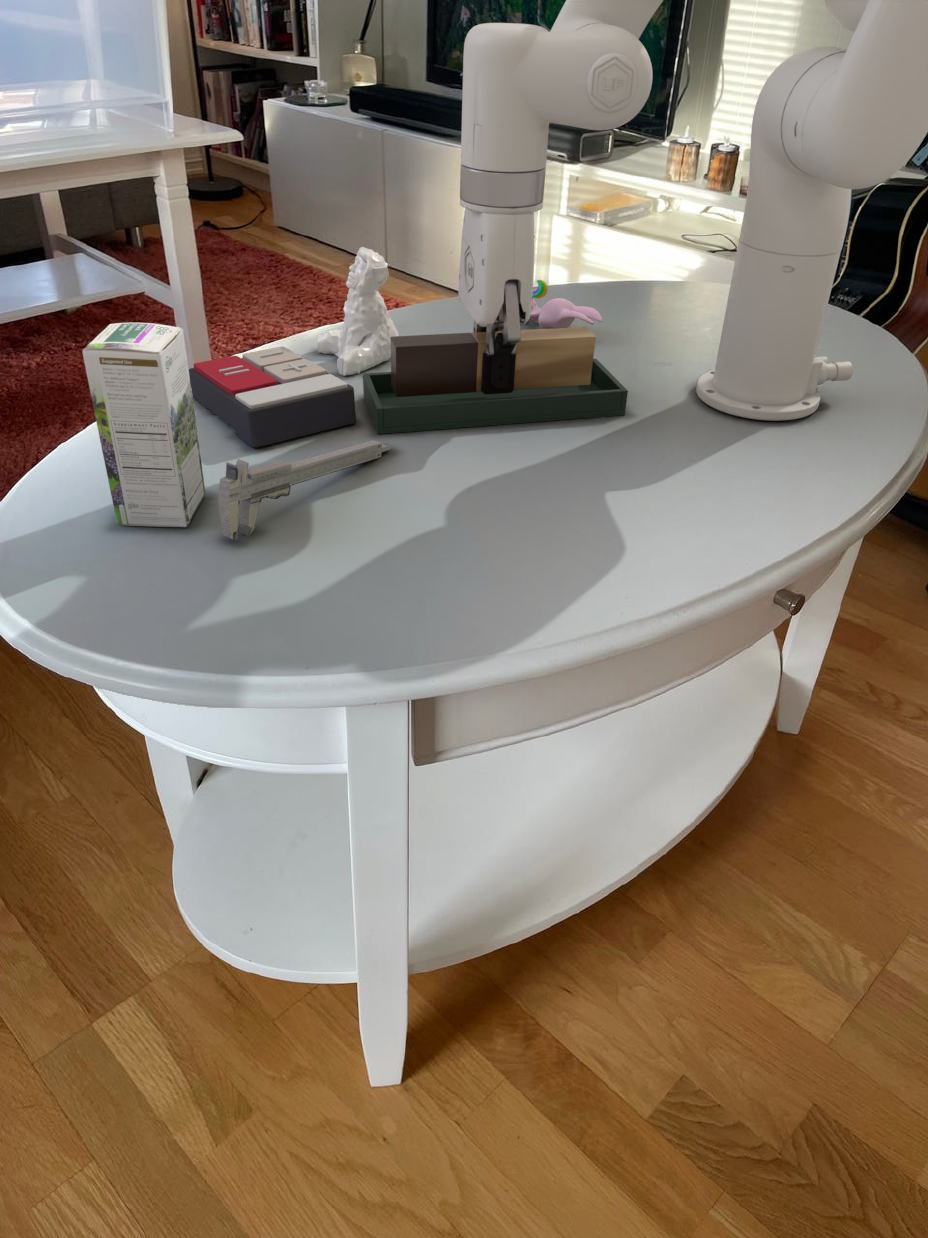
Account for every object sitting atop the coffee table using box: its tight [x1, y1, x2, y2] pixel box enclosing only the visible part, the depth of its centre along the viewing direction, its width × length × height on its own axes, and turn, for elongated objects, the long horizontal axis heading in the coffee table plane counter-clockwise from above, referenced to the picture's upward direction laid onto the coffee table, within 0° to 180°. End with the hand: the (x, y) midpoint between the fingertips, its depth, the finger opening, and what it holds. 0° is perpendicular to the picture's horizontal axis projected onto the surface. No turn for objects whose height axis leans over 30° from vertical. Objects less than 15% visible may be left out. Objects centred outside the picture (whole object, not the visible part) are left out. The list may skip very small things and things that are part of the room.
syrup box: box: [81, 322, 206, 528], centre depth 72 cm, size 6×6×14 cm
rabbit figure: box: [528, 279, 603, 329], centre depth 113 cm, size 6×6×15 cm
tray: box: [362, 358, 629, 435], centre depth 94 cm, size 25×9×3 cm, turn 103°
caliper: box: [217, 439, 391, 541], centre depth 77 cm, size 20×1×6 cm, turn 147°
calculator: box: [188, 346, 357, 448], centre depth 92 cm, size 11×4×15 cm
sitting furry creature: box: [316, 246, 400, 377], centre depth 102 cm, size 10×9×12 cm
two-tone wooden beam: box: [390, 326, 597, 397], centre depth 92 cm, size 3×20×5 cm, turn 104°
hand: (492, 383), depth 93 cm, fingers closed on two-tone wooden beam, 3 cm apart
